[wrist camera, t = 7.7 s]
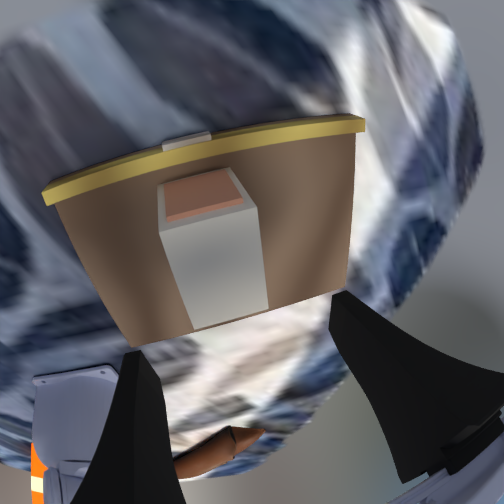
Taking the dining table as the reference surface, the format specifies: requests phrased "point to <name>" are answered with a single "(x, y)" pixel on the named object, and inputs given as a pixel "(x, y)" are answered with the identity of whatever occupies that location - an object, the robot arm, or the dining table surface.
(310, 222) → the shelf board
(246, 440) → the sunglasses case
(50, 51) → the dining table surface
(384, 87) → the dining table surface
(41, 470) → the orange juice
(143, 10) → the dining table surface
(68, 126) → the dining table surface
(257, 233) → the carton
